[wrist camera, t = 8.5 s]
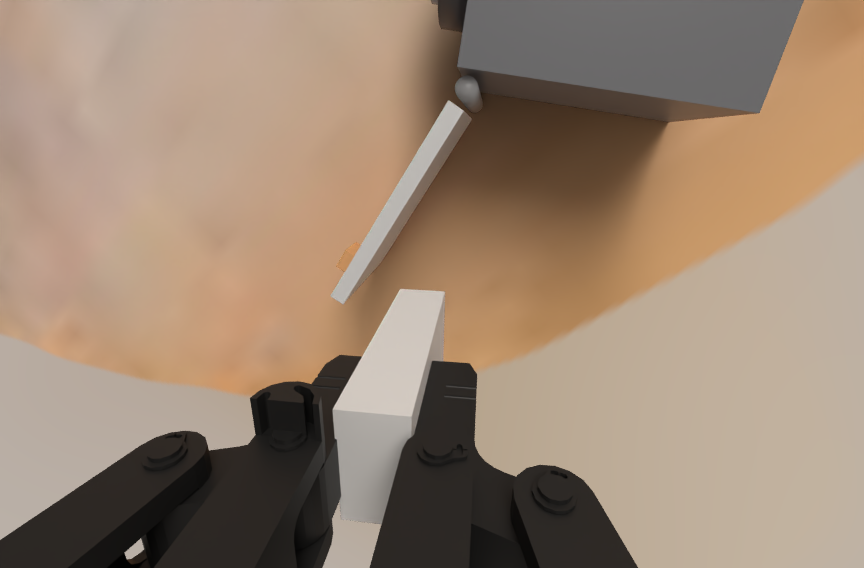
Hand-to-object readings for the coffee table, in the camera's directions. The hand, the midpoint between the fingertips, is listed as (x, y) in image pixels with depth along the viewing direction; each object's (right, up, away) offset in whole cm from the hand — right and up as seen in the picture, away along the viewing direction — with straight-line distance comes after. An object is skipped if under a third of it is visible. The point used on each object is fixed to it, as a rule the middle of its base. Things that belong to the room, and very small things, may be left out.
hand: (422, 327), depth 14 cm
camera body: (+8, +17, +10) cm, 21 cm away
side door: (0, +8, +14) cm, 16 cm away
